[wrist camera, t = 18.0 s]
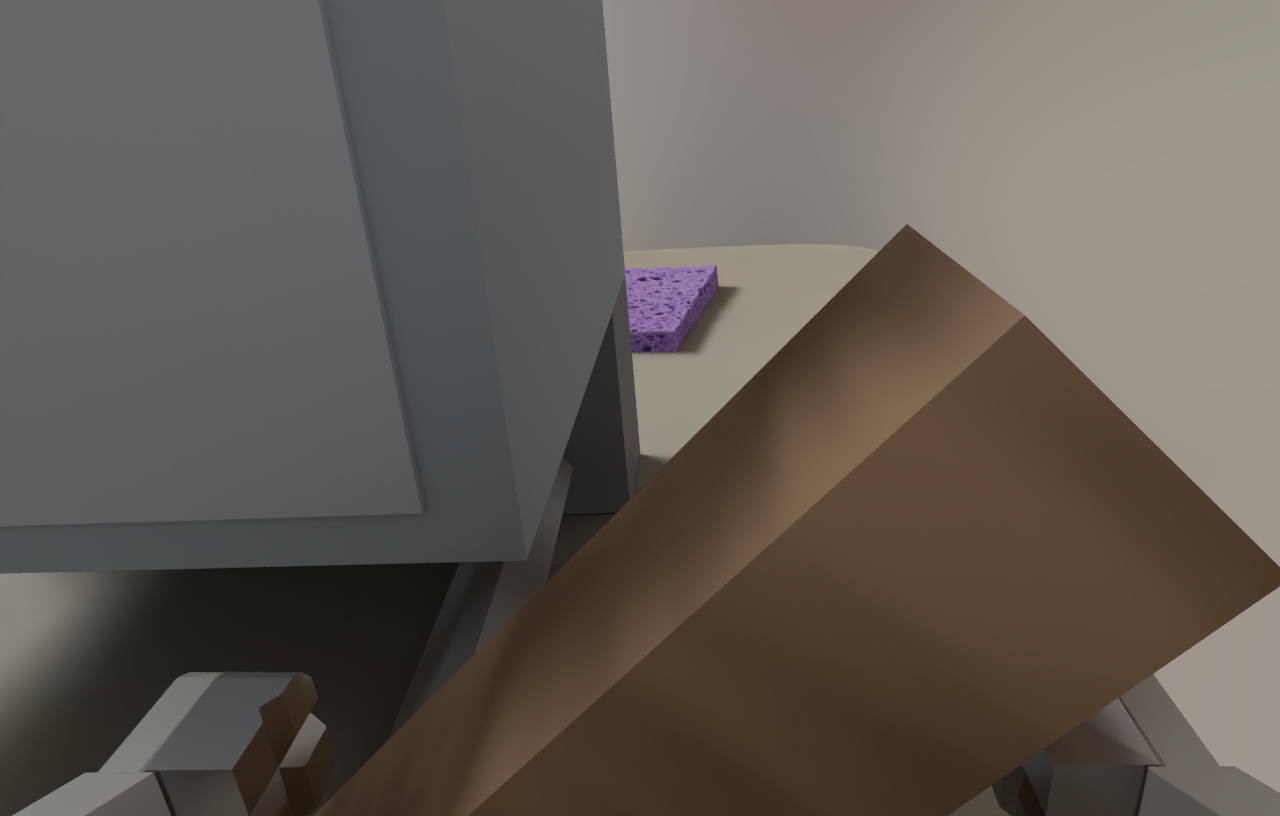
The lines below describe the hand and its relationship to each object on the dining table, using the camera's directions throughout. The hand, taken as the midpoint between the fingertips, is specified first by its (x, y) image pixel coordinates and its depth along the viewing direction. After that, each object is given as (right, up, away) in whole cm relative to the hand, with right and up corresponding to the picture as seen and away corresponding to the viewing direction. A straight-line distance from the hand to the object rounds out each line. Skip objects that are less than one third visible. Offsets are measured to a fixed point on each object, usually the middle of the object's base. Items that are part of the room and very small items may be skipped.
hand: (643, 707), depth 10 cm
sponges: (0, +8, +40) cm, 40 cm away
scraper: (-5, -3, +9) cm, 10 cm away
